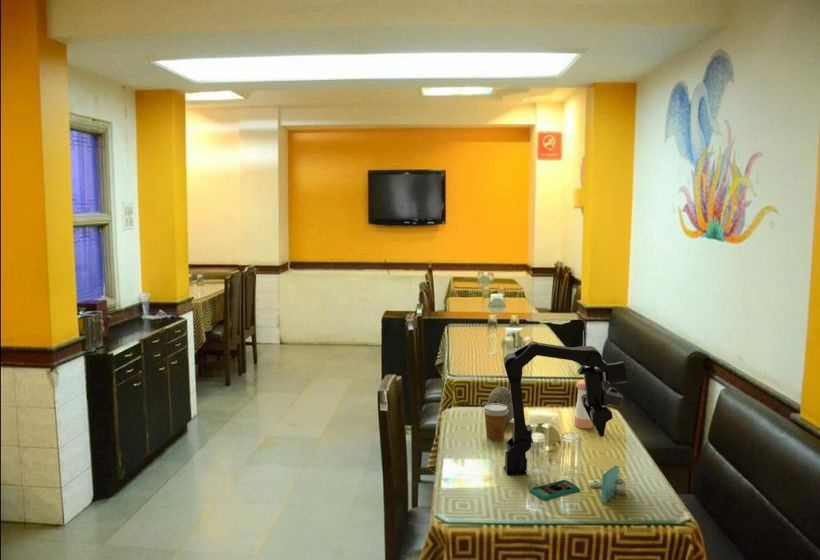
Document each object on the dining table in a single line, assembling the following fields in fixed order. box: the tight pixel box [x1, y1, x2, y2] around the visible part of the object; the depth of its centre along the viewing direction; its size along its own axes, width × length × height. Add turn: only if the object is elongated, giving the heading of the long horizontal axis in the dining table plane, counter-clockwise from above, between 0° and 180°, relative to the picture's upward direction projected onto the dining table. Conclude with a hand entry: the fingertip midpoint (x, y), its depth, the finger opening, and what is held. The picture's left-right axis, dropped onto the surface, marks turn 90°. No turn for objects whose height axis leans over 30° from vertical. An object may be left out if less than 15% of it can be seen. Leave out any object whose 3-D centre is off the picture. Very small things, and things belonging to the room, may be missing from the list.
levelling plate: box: [587, 479, 602, 488], centre depth 201 cm, size 10×14×4 cm
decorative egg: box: [486, 385, 514, 424], centre depth 266 cm, size 12×12×15 cm
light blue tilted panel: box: [601, 464, 626, 503], centre depth 199 cm, size 12×4×8 cm, turn 140°
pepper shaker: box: [574, 378, 594, 430], centre depth 262 cm, size 7×7×19 cm
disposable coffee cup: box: [482, 403, 509, 441], centre depth 250 cm, size 10×10×12 cm
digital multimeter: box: [529, 479, 581, 501], centre depth 203 cm, size 7×15×3 cm, turn 118°
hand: (598, 431), depth 216 cm, fingers open, 9 cm apart
